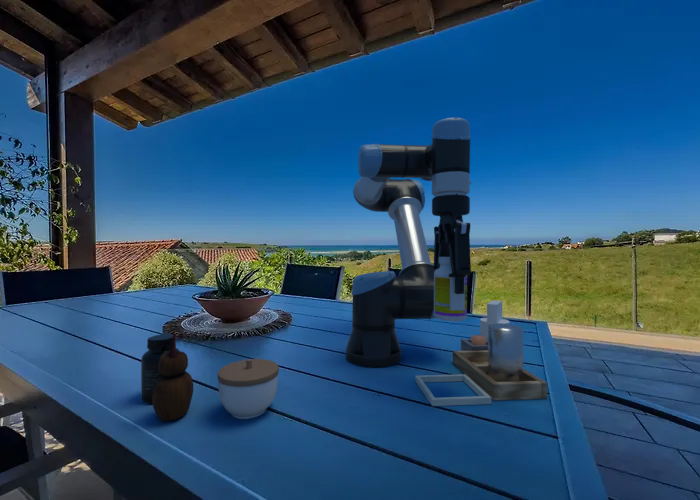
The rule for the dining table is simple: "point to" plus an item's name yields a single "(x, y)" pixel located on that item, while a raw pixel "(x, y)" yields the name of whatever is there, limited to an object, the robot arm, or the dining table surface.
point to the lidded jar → (248, 387)
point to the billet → (505, 352)
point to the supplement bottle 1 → (153, 363)
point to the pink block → (478, 340)
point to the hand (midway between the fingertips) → (450, 306)
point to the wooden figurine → (172, 385)
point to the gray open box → (472, 346)
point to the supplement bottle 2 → (446, 293)
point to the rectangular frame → (448, 401)
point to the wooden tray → (477, 371)
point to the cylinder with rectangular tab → (492, 317)
